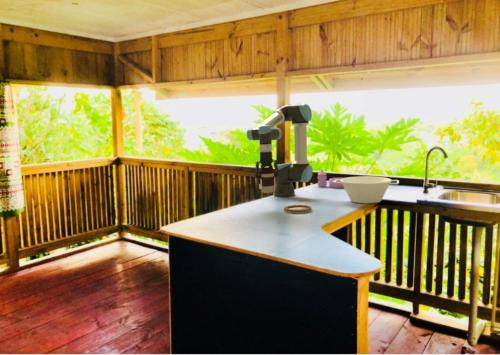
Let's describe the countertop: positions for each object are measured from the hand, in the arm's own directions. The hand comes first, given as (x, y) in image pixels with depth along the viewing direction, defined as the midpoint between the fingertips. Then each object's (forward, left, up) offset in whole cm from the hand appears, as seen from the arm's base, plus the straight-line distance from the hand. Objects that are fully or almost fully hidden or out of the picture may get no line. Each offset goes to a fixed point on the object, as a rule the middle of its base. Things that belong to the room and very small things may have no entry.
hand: (267, 188), depth 245 cm
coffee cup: (0, 0, -3) cm, 3 cm away
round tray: (+13, +14, -13) cm, 23 cm away
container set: (-52, +80, -13) cm, 96 cm away
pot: (+10, +65, -13) cm, 67 cm away
